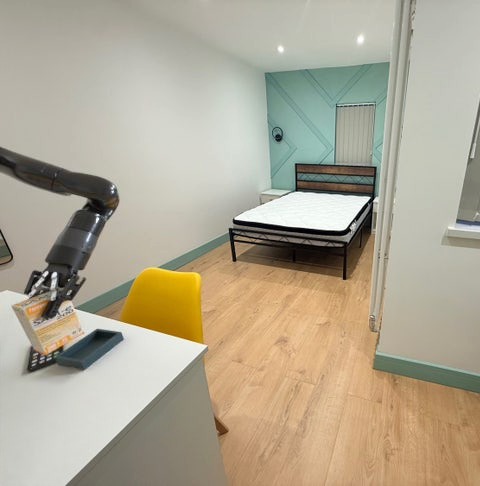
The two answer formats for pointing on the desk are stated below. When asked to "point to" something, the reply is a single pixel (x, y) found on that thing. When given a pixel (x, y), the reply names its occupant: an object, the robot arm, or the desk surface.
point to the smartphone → (41, 358)
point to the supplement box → (47, 323)
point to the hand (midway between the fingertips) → (37, 316)
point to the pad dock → (89, 349)
